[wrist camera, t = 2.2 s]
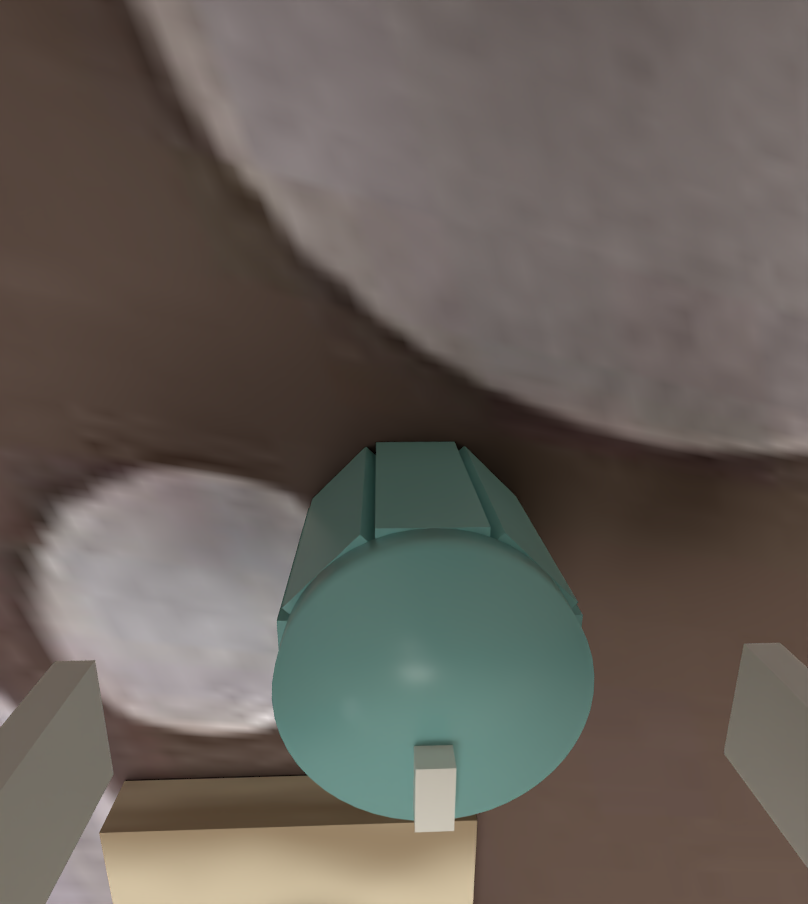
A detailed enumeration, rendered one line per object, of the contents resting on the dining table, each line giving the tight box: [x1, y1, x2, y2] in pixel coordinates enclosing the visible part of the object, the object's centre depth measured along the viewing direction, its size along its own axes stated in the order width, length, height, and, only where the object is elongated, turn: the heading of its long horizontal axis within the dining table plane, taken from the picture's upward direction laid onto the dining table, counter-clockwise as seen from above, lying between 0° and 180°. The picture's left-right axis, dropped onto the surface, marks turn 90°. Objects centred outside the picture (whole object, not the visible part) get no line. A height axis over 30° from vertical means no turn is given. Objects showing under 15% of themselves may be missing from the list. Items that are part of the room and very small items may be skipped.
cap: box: [272, 442, 594, 832], centre depth 15 cm, size 6×6×8 cm
